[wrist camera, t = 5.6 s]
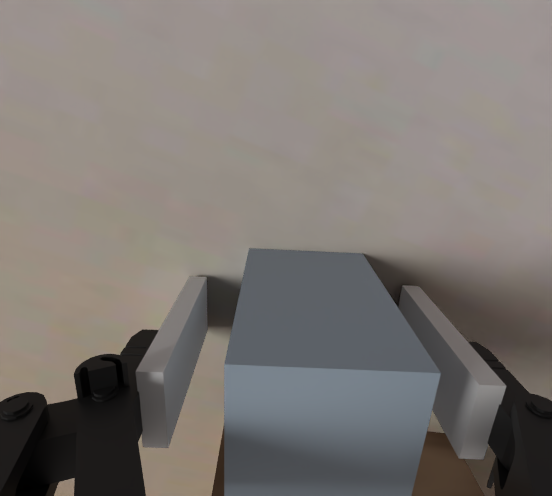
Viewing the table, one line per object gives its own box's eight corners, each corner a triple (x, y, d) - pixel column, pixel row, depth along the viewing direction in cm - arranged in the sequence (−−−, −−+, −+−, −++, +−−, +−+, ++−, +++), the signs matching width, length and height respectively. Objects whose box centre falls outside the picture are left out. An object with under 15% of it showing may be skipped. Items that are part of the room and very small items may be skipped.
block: (246, 345, 17) (224, 516, 10) (249, 248, 16) (224, 364, 8) (349, 349, 18) (404, 522, 10) (362, 253, 16) (440, 373, 8)
